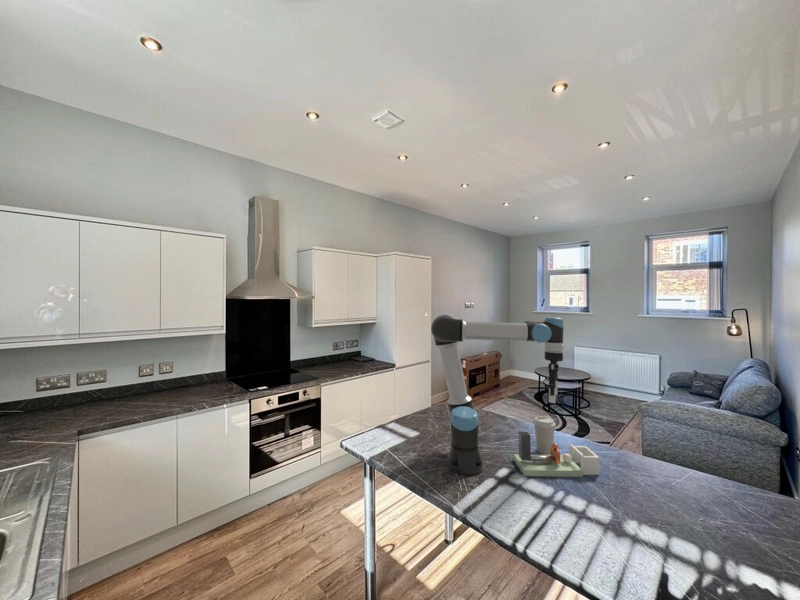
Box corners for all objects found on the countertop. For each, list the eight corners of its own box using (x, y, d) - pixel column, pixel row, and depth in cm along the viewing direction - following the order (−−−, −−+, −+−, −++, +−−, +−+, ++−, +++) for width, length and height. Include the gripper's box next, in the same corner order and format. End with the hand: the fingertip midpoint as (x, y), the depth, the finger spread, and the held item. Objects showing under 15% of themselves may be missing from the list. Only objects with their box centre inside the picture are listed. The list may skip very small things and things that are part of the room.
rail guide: (532, 463, 130) (532, 461, 130) (529, 458, 134) (529, 456, 134) (552, 464, 129) (552, 461, 129) (548, 458, 134) (548, 456, 134)
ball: (564, 464, 129) (564, 455, 129) (560, 460, 133) (560, 451, 133) (573, 464, 129) (573, 455, 129) (569, 460, 133) (569, 451, 133)
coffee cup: (551, 447, 150) (550, 415, 150) (559, 457, 140) (559, 423, 141) (530, 446, 151) (530, 415, 151) (537, 456, 141) (537, 423, 141)
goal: (581, 474, 126) (581, 455, 126) (570, 462, 136) (569, 444, 136) (599, 474, 126) (598, 455, 126) (586, 462, 135) (585, 444, 135)
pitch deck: (524, 476, 126) (524, 470, 126) (514, 459, 139) (513, 454, 139) (582, 476, 125) (582, 470, 125) (567, 460, 138) (567, 454, 138)
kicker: (522, 463, 129) (522, 436, 129) (518, 456, 135) (517, 430, 135) (561, 464, 129) (560, 436, 129) (555, 457, 134) (554, 430, 134)
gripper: (561, 356, 129) (561, 407, 129) (564, 348, 151) (563, 392, 151) (542, 354, 133) (541, 404, 133) (546, 347, 154) (546, 390, 154)
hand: (553, 398), depth 142 cm, fingers open, 13 cm apart
